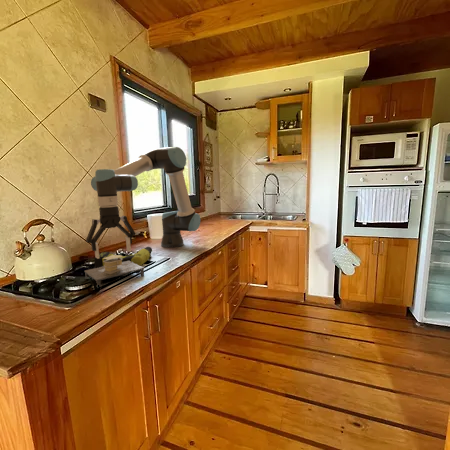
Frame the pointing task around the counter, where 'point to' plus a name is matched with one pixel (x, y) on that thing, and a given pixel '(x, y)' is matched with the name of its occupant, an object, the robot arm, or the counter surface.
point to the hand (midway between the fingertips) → (113, 254)
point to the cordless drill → (126, 257)
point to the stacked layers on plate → (113, 264)
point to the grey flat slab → (101, 275)
